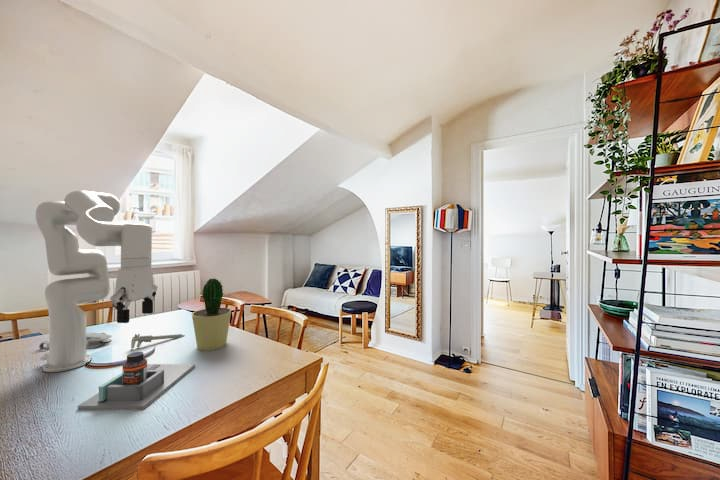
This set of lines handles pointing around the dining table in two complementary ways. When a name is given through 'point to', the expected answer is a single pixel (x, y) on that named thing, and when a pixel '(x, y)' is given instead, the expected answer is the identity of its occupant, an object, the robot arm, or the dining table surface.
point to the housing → (140, 388)
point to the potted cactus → (211, 318)
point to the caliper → (151, 338)
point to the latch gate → (114, 381)
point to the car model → (87, 340)
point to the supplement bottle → (134, 369)
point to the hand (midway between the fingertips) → (135, 317)
